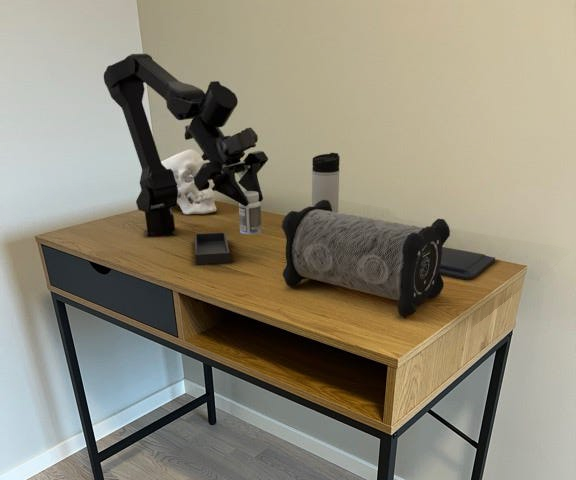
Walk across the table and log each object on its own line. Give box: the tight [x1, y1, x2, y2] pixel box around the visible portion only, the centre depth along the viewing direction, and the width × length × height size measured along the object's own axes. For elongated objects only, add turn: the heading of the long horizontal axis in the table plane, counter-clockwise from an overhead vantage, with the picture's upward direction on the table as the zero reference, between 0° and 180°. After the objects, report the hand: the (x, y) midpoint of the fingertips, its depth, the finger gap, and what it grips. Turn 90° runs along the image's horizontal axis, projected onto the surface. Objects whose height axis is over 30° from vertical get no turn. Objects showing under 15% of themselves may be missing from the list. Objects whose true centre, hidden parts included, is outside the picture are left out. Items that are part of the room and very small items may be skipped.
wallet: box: [439, 246, 496, 281], centre depth 130 cm, size 20×2×15 cm
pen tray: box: [194, 231, 231, 266], centre depth 137 cm, size 16×8×2 cm, turn 8°
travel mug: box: [311, 152, 341, 213], centre depth 139 cm, size 6×7×20 cm
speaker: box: [281, 200, 451, 318], centre depth 112 cm, size 15×28×15 cm, turn 53°
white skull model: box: [161, 148, 217, 216], centre depth 170 cm, size 14×20×19 cm
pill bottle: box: [238, 190, 263, 236], centre depth 127 cm, size 5×5×8 cm
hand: (254, 202), depth 126 cm, fingers closed on pill bottle, 4 cm apart
